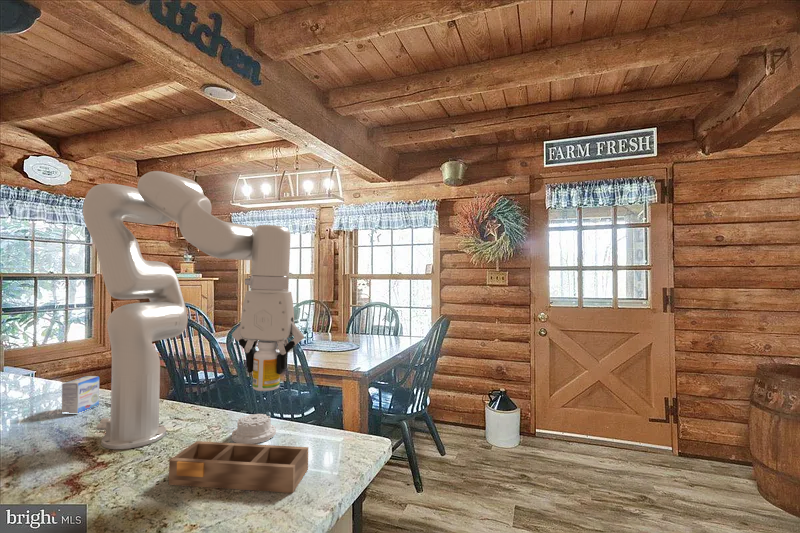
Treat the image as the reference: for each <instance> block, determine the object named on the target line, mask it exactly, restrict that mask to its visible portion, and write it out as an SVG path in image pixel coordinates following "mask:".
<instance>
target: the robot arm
mask: <svg viewBox="0 0 800 533" xmlns="http://www.w3.org/2000/svg"><path fill="white" fill-rule="evenodd" d="M84 197H85V198H84V199H83V200H84V201H83V204H82V215H83V220H84V223H85V226H86V229H87V231H88V233H89V235H90V237H91V239H92V241H93V243H94V247H95V250H96V253H97V259H98V262H99V265H100V270H101V273H102V278H103V282H104V285H105V288H106V290H107V293H108V294H109V296H110V297H112V298H113V299H115V300H116V299H117V300H143V299H145V300H147V299H148V300H149V301H148V302H147V301H146V302H134V303H128V304H127V303H126V304H124V305H121V306H119V307H116V309H114V310H112V312H111V313H110V315H109V316H108V319H107V322H106V326H107V333H108V338H109V343H110V350H111V384H110V385H111V386H110V387H111V390H110V391H111V392H110V393H111V394H110V417H104V418H102V419H101V420H100V421H99V423H98V424H97V425H96V429H97V431H105V435H104V436H103V437H102V438H101V446H102V447H103V448H105V449H110V450H127V449H133V448H139V447H144V446H147V445H150V444H152V443H155V442H157V441H159V440H161V439H162V438H164V437H165V435H166V433H167V428H166V426H164V425H162V424H159V423H160V391H161V390H160V387H161V383H160V382H161V359H160V354H158V352H157V349H156V348H155V347H154V344H153V342H156V341H162V340H168V339H172V338H173V339H174V338H176V337H178V336H181V335H182V334H183V333H184V331H185V330H186V328H187V327H188V323H189V322H188V319H189V318H188V311H187V307H186V303H185V299H184V297H183V292H182V289H181V285H180V281H179V278H178V275H177V273H176V271H175V269H173V267H172V266H171V265H169V264H167V263H165V262H162V261H157V260H147V259H144V257H143V255H142V251H141V249H140V244H139V242H138V239H137V238H136V237H135V235H134V233H133V232H132V231H131V230H130V229H129V228H128V227H127V226H126V225H125V224H124V222H129V223H135V224H136V223H137V224H142V225H151V226H155V225H156V226H157V225H163V224H166V223H168V222H171V221H173V222H175V224H177V225H178V228H179V231H180V233H181V236H182V237H183V238H184V240H186V241H187V242H188V243H189V244H190V245H192V246H194V247H196V248H197V249H198V250H199V251H201V252H203V253H204V254H206V255H208V256H210V257H213V258H217V259H222V260H223V259H224V260H237V261H251V269H250V270H251V271H250V272H251V274H250V275H249V278H245V279H244V284H245V285H246V286H247V285H248V286H249V289H250V290H246V292H245V294H244V300H243V304H242V308H241V309H242V310H241V316H240V323H239V325H238V326H237V328H236V329H235V330H234V331H233V332H232V333H231V336H232V338H233V339H234V340H236V342H238V344H239V345H240V347H241V348H242V349H243V352H245V353H246V358H245V359H246V360H245V361H246V362H245V367H246V368H247V373H253V361H254V354H255V352H257V351H258V350H256V349H257V348H256V347H257V346H258V341H260V340H261V341H277V344H278V351H279V355H277V374H280V375H281V374H283V373H284V372H285V371H286V370H287V369H288V368H287V367H288V359H289V358H288V353H289V352H290V351H291V350H292V349H293V348H294V347H295V346H296V345H297V344H299V343H300V342H301V341H302V340H304V338H305V336H304V333H302V332H301V331H300V329H299V328H298V326H297V325H296V323H295V308H294V301H293V295H292V292H291V291H289V283H290V282H289V280H290V277H289V276H290V261H291V260H290V255H291V231H290V230H289V228H288V227H286V226H282V225H273V224H261V225H257V226H252V225H251V226H250V225H244V224H240V223H234V222H230V221H225V220H222V219H219V218H218V217H216V216H214V215H213V214H212V207H213V206H212V203H211V200H210V199H209V198H208V197H207V196H206V195H204V190H203V189H202V187H201V185H199V183H197V182H196V181H195V180H193V179H191V178H188V177H185V176H180V175H176V174H175V173H174V174H173V173H171V172H166V171H163V170H161V171H160V170H153V171H149V172H146V173H145V174H143V175H142V176H141V177H140V178H139V179H138V181H137V187H134V186H133V187H132V186H129V185H123V184H119V183H118V184H117V183H99V184H97V185H94V186H92V187H91V188H90V189H89V190H88V192H87V193H86V195H85V196H84ZM292 337H293V338H292ZM290 338H292V339H291V340H290V341H289V340H288V339H290Z"/></svg>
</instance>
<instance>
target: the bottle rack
mask: <svg viewBox="0 0 800 533" xmlns="http://www.w3.org/2000/svg"><path fill="white" fill-rule="evenodd" d="M168 464H169V465H168V468H169V469H168V485H169V486H180V487H181V486H182V487H196V488H208V489H209V488H211V489H228V490H240V491H242V490H243V491H258V492H259V491H260V492H273V493H287V494H293V493H294V492H295V491H296V489H297V487H298V486H299V484H300V483H301V481H302V480H303V479H304V477H305V475H306V474H307V473H308V471H307V470H309V447H308V446H295V445H294V446H293V445H292V446H291V445H275V444H274V445H273V444H259V443H256V444H240V443H236V442H219V441H203V440H202V441H201V440H197V441H195V442H194V443H192V444H190V445H189V446H188V447H186V448H185V449H184V450H182V451H181V452H179V453H177V455H176V454H175V456H174V457H171V459H169V461H168ZM305 473H306V474H305ZM303 476H304V477H303Z"/></svg>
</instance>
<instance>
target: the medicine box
mask: <svg viewBox="0 0 800 533" xmlns="http://www.w3.org/2000/svg"><path fill="white" fill-rule="evenodd" d="M61 384H62V385H61V386H62V387H61V388H62V389H61V413H62V412H69V413H79V412H82V411H85V410H87V409H90V408H92V407H94V406H97V405H98V406H99V405H100V376H98V375H97V376H96V375H87V376H86V375H85V376H82V377H80V378H76V379H73V380H70V381H67V382H64V383H61ZM98 406H97V407H98ZM94 408H95V407H94ZM92 409H93V408H92ZM90 410H91V409H90Z"/></svg>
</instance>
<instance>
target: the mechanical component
mask: <svg viewBox="0 0 800 533" xmlns="http://www.w3.org/2000/svg"><path fill="white" fill-rule="evenodd" d="M271 420H272V419H271V416H270V415H267V414H266V413H265V414H264V413H254V414H252V413H251V414H248V415H246V416H245V415H244V416H242V417H240V418H238V420H237V428H235V429H234V430H233V431H232V433H231V441H233V443H240V444H261V443H264V442H266V440H267V441H269V440H271V439H272V437H273V436H274V435H275V436H276V435H277V433H276V432H277V431H276V430H277V429H276V426H275V425H272V423H271ZM275 436H274V437H275ZM274 437H273V438H274ZM270 438H271V439H270ZM263 441H264V442H263ZM260 442H261V443H260Z"/></svg>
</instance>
